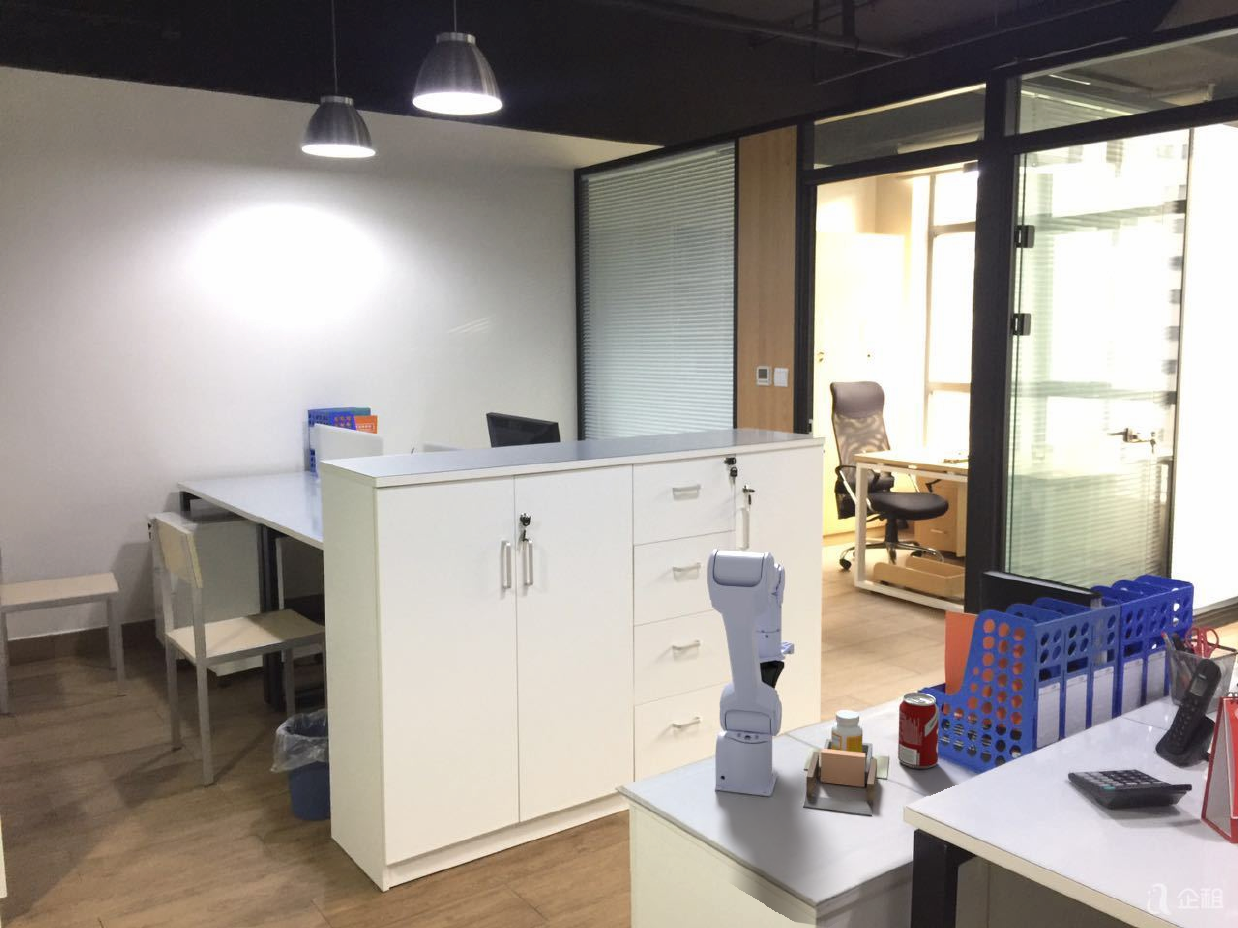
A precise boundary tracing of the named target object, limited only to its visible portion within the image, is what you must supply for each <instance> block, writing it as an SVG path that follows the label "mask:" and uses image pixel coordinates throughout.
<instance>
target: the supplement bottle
mask: <svg viewBox="0 0 1238 928" xmlns="http://www.w3.org/2000/svg"><path fill="white" fill-rule="evenodd" d="M859 723H860V714H859V713H858V712H857V711H855V710H850V709H841V710H837V711H836V712H835V722H834V723H833V724H832V725H831V736H830V737H831V738H830V739H831V750H839V751H848V752H858V753H862V743H863V734H864V733H863V727H862V726H861V724H859Z"/></svg>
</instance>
